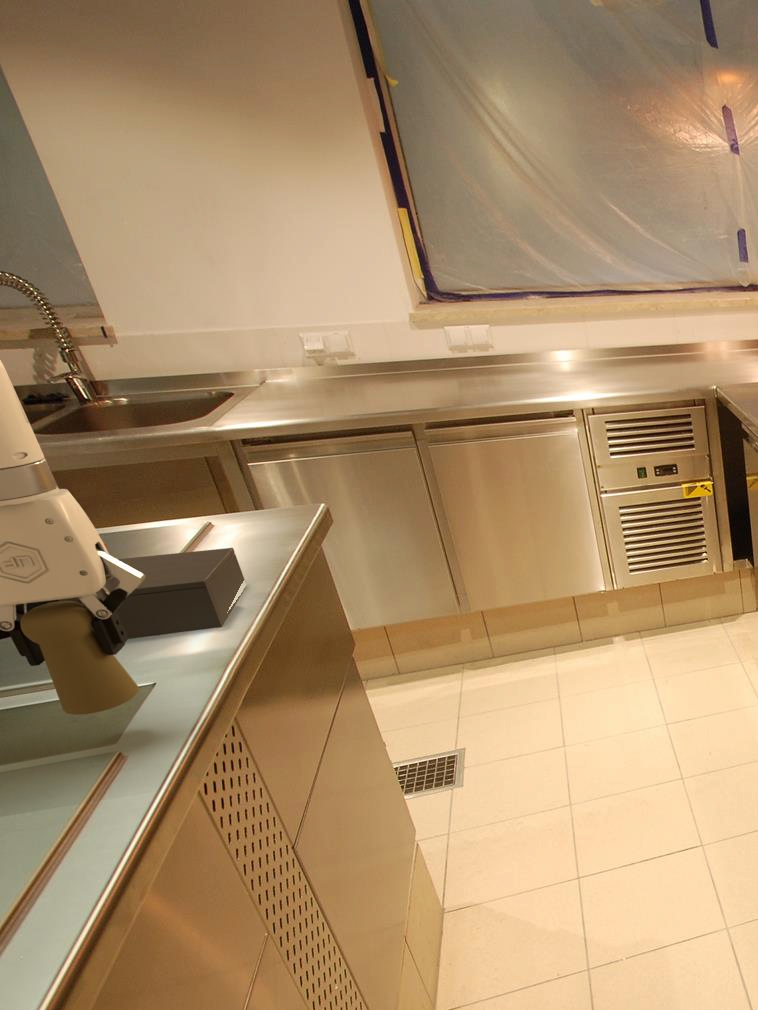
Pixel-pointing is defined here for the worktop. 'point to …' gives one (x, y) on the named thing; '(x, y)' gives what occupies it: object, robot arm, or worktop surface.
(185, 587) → the box lid
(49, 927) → the worktop surface
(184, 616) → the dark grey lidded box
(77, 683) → the cork
